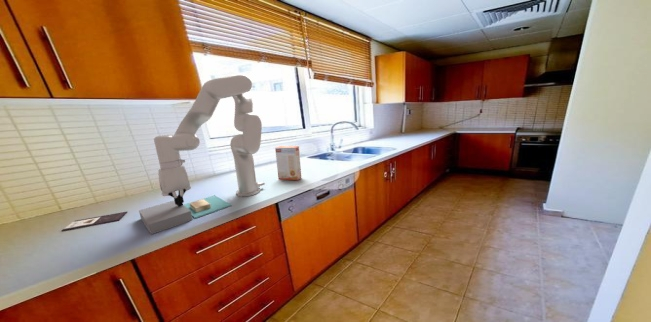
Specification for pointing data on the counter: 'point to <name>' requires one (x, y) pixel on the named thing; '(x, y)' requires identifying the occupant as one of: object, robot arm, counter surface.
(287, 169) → the cracker box
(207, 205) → the tan rectangular block
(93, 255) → the counter surface
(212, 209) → the mat
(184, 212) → the block
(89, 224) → the chocolate bar
